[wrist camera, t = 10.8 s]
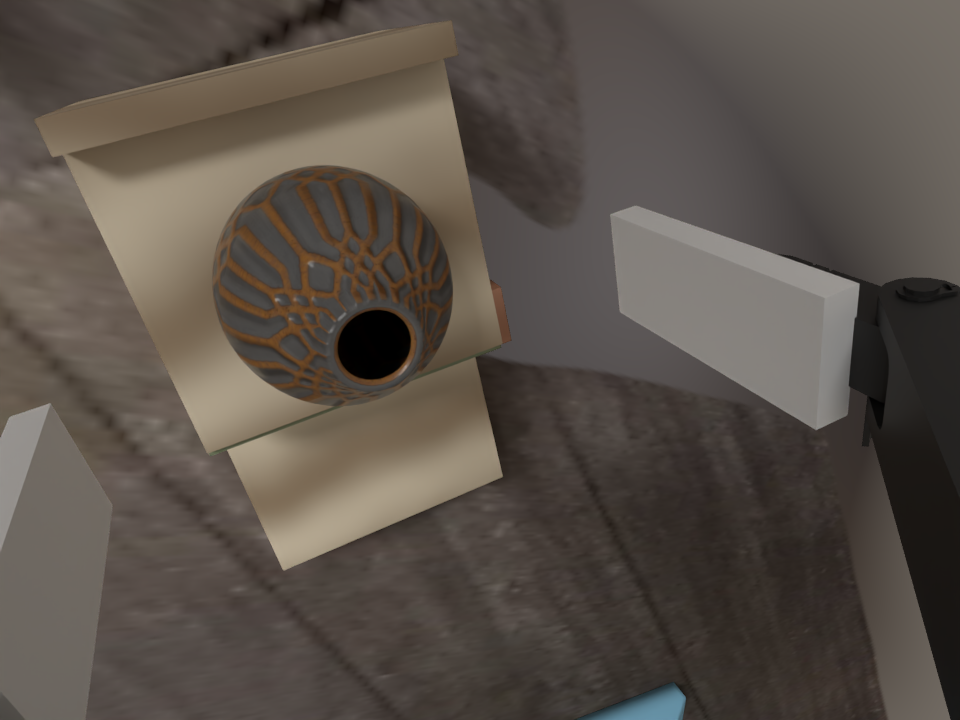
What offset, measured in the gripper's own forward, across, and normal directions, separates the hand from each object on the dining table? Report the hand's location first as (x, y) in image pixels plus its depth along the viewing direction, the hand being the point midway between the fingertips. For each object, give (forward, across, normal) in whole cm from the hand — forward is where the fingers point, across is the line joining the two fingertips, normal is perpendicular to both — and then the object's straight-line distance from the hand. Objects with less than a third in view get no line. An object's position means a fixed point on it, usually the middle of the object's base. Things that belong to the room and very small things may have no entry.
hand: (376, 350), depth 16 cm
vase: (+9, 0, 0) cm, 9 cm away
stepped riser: (+17, 0, -5) cm, 18 cm away
